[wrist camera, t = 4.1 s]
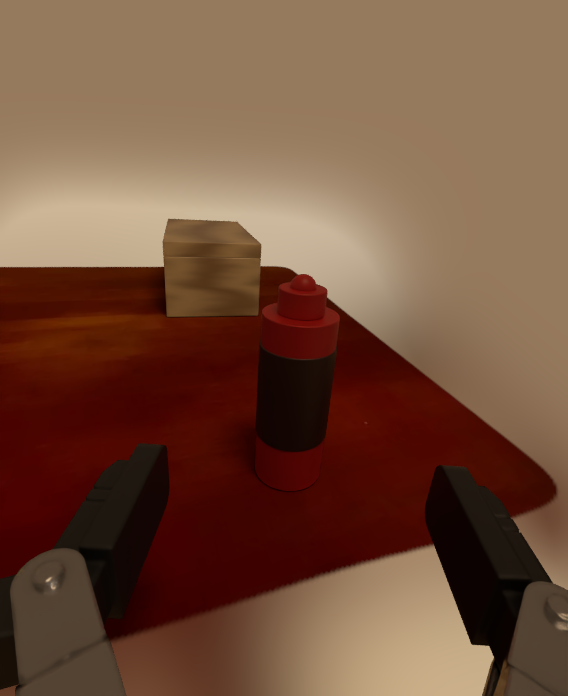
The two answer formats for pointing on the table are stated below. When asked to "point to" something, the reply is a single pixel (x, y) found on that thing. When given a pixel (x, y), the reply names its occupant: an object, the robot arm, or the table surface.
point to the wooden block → (210, 269)
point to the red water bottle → (294, 384)
